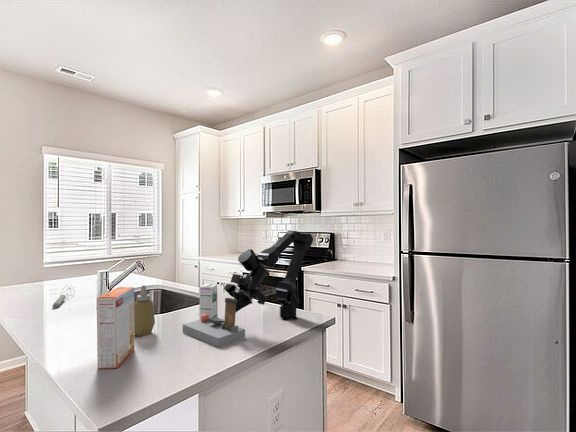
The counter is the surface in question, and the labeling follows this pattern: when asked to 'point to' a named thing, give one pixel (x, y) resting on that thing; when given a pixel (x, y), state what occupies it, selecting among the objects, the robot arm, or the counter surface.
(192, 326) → the panel
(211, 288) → the syrup box
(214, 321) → the block
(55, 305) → the kitchen whisk
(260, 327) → the counter surface
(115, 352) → the cracker box
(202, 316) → the button
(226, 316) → the lever
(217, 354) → the counter surface
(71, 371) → the counter surface
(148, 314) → the squeeze bottle
